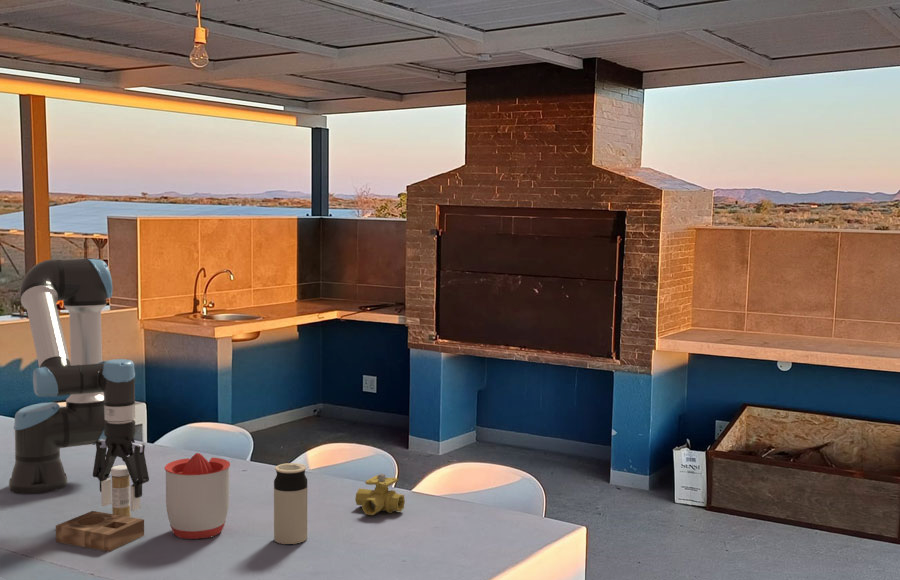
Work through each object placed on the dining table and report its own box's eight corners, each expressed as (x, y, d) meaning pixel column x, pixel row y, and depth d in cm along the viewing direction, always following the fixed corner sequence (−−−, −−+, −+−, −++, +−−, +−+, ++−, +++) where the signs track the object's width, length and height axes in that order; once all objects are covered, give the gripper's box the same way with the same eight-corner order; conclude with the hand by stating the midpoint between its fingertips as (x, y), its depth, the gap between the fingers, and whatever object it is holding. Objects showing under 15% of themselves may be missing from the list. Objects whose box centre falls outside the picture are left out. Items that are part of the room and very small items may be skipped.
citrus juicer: (232, 518, 241) (232, 442, 239) (228, 541, 224) (228, 460, 222) (170, 520, 238) (169, 444, 237) (161, 544, 221) (160, 462, 220)
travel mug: (292, 547, 221) (292, 473, 219) (267, 541, 225) (266, 468, 223) (314, 538, 227) (314, 465, 226) (289, 531, 232) (289, 460, 230)
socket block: (56, 541, 222) (55, 525, 222) (92, 526, 233) (92, 510, 233) (109, 551, 216) (109, 534, 216) (144, 535, 228) (144, 519, 227)
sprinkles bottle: (129, 514, 243) (128, 463, 242) (131, 519, 239) (130, 468, 238) (110, 516, 241) (110, 465, 240) (112, 521, 237) (112, 470, 236)
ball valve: (406, 510, 251) (407, 473, 250) (389, 521, 241) (389, 483, 240) (365, 503, 256) (365, 467, 255) (346, 514, 246) (347, 477, 245)
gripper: (76, 419, 238) (77, 505, 240) (143, 427, 231) (144, 516, 232) (97, 413, 245) (98, 497, 247) (163, 421, 238) (164, 508, 239)
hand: (121, 506), depth 240 cm, fingers open, 9 cm apart
